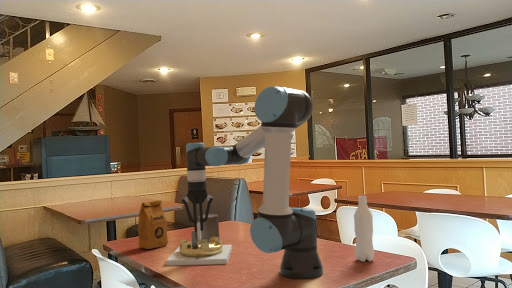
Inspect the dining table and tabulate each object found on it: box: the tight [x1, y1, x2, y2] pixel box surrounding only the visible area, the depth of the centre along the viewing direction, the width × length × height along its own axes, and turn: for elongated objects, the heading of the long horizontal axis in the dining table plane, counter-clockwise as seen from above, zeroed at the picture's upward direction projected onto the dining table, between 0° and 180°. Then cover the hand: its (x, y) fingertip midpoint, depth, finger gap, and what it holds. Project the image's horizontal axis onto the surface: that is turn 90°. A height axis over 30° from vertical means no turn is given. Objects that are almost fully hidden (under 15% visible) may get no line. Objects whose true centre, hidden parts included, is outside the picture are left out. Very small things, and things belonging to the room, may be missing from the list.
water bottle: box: [353, 195, 375, 262], centre depth 156 cm, size 7×7×25 cm
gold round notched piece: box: [178, 230, 223, 257], centre depth 169 cm, size 18×18×10 cm
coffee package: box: [137, 199, 169, 250], centre depth 190 cm, size 10×12×22 cm
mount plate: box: [165, 244, 233, 267], centre depth 169 cm, size 24×24×2 cm
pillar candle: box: [197, 213, 220, 240], centre depth 193 cm, size 10×10×15 cm
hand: (199, 238), depth 162 cm, fingers closed
